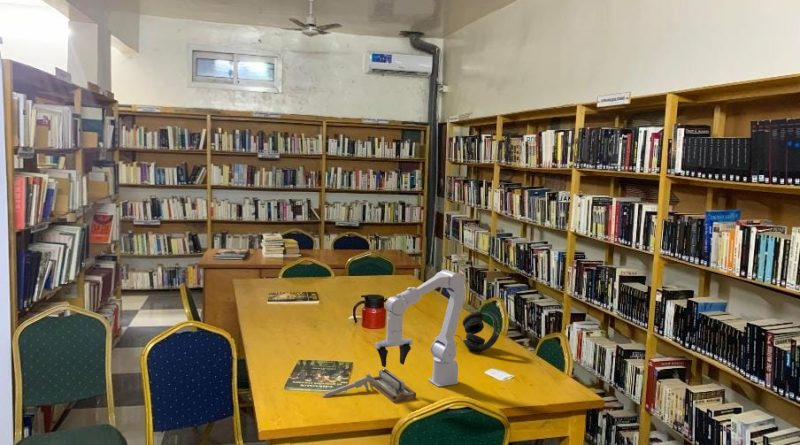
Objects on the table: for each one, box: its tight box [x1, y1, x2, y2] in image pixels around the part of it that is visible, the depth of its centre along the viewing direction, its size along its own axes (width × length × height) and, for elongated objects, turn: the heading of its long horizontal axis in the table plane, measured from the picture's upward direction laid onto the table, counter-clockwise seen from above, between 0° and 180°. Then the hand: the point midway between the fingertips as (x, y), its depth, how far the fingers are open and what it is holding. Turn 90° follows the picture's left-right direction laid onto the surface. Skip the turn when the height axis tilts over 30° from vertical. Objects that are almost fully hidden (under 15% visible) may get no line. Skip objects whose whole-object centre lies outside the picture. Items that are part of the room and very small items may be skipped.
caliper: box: [321, 373, 374, 398], centre depth 220 cm, size 20×1×6 cm, turn 121°
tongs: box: [378, 368, 406, 394], centre depth 224 cm, size 3×14×5 cm, turn 28°
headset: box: [454, 310, 501, 352], centre depth 278 cm, size 18×14×29 cm
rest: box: [372, 375, 417, 403], centre depth 224 cm, size 9×20×2 cm, turn 28°
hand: (392, 365), depth 223 cm, fingers open, 7 cm apart
